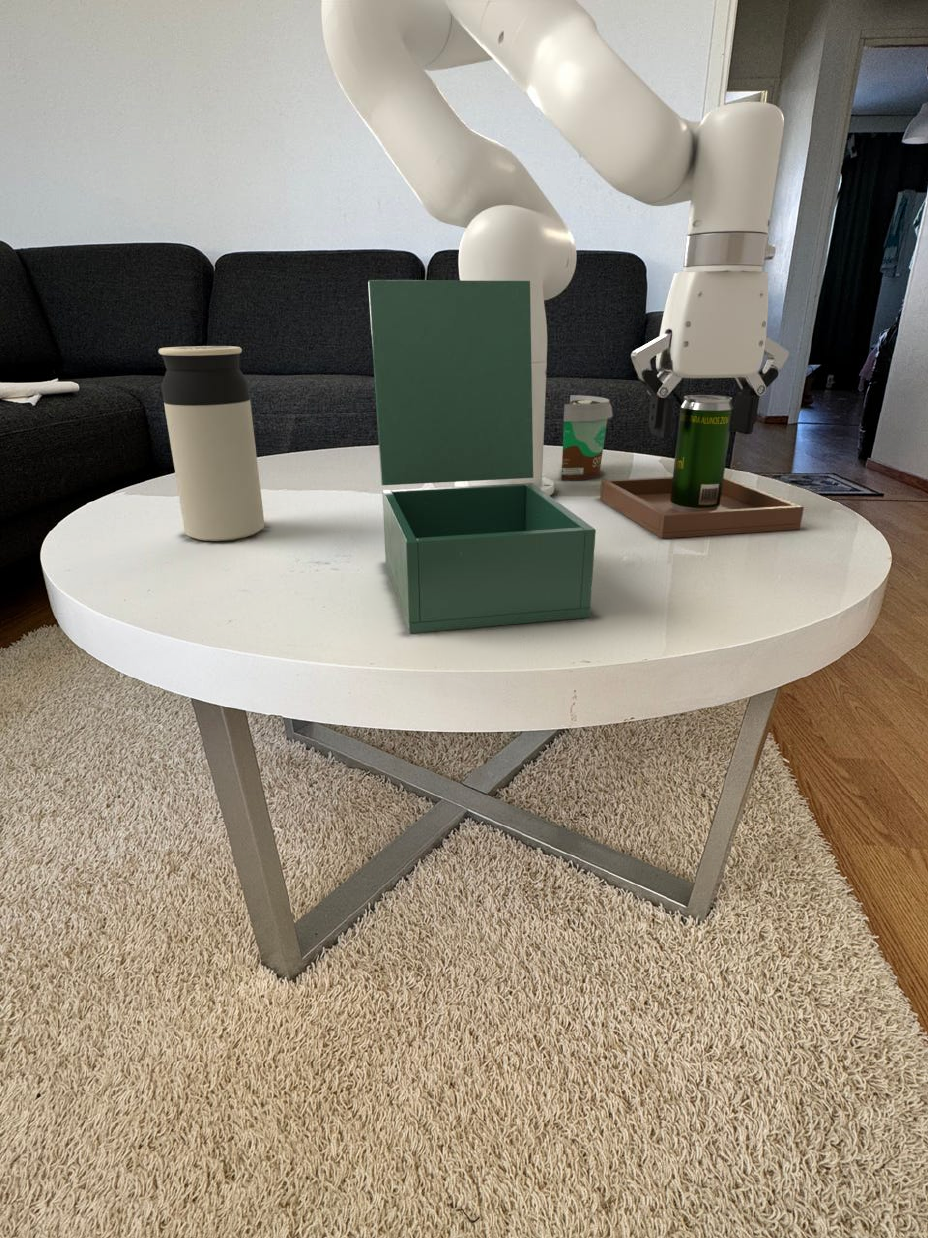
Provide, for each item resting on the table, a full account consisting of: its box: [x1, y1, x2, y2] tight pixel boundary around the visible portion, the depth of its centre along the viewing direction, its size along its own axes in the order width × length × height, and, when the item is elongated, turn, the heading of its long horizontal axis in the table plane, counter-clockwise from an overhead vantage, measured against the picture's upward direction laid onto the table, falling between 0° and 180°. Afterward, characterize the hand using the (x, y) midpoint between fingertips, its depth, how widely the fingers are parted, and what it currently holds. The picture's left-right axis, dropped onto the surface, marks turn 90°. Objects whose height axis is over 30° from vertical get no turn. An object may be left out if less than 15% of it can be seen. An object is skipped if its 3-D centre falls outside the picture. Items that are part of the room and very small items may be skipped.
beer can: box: [670, 394, 734, 512], centre depth 78 cm, size 5×5×12 cm
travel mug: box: [157, 345, 265, 542], centre depth 72 cm, size 8×8×18 cm
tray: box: [599, 475, 805, 540], centre depth 81 cm, size 17×16×2 cm
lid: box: [367, 279, 533, 486], centre depth 64 cm, size 16×14×5 cm
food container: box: [560, 394, 613, 481], centre depth 99 cm, size 12×6×10 cm, turn 168°
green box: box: [381, 483, 597, 634], centre depth 58 cm, size 16×14×7 cm
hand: (700, 433), depth 78 cm, fingers open, 9 cm apart
